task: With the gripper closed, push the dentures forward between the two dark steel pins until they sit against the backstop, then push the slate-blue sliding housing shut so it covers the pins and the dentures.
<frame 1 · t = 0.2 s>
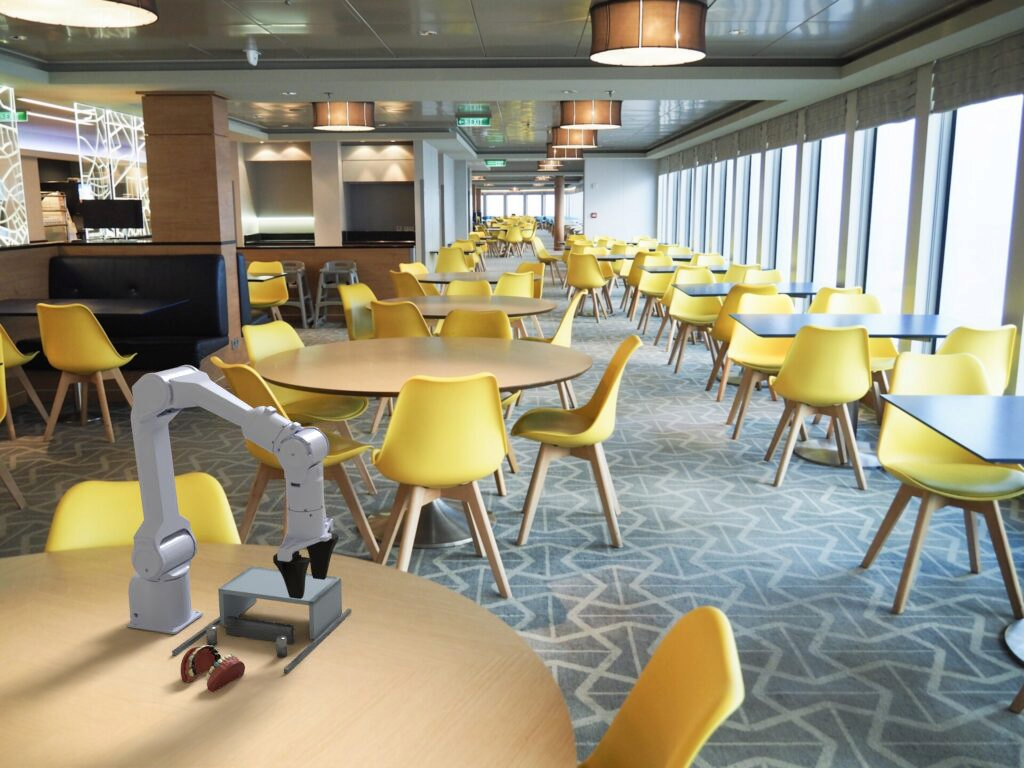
hand: (308, 587, 139), 10 cm above the table, fingers open, 7 cm apart
dentures: (213, 680, 131), on the table
housing: (281, 601, 149), point 3 cm above the table, slide at 0.0 cm
pin seat: (246, 649, 139), on the table
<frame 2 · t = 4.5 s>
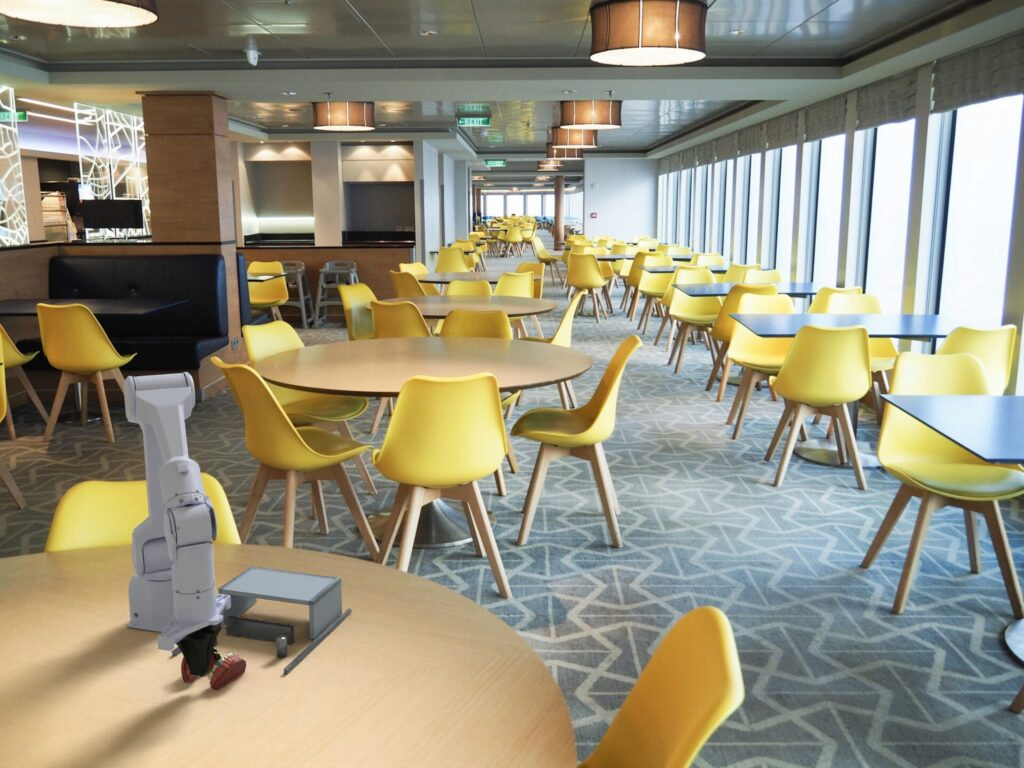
hand: (199, 673, 127), 2 cm above the table, fingers closed
dentures: (214, 679, 131), on the table, touching gripper
everything else where it was.
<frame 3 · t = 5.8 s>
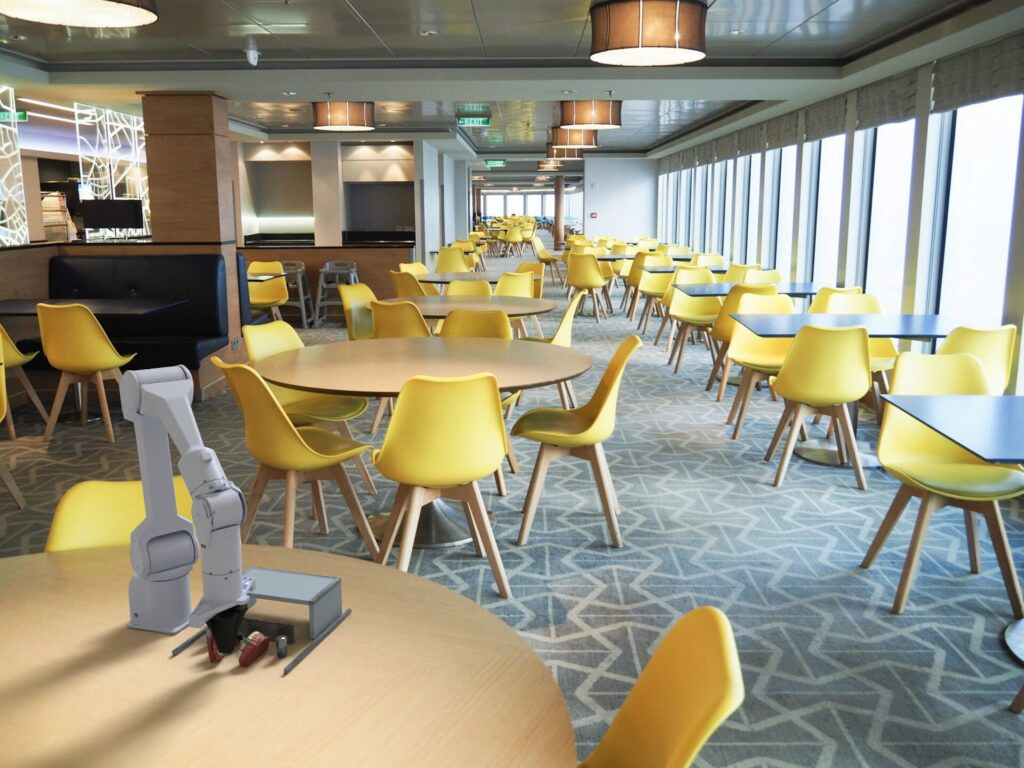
hand: (226, 651, 134), 2 cm above the table, fingers closed
dentures: (239, 657, 137), on the table, touching gripper
everything else where it was.
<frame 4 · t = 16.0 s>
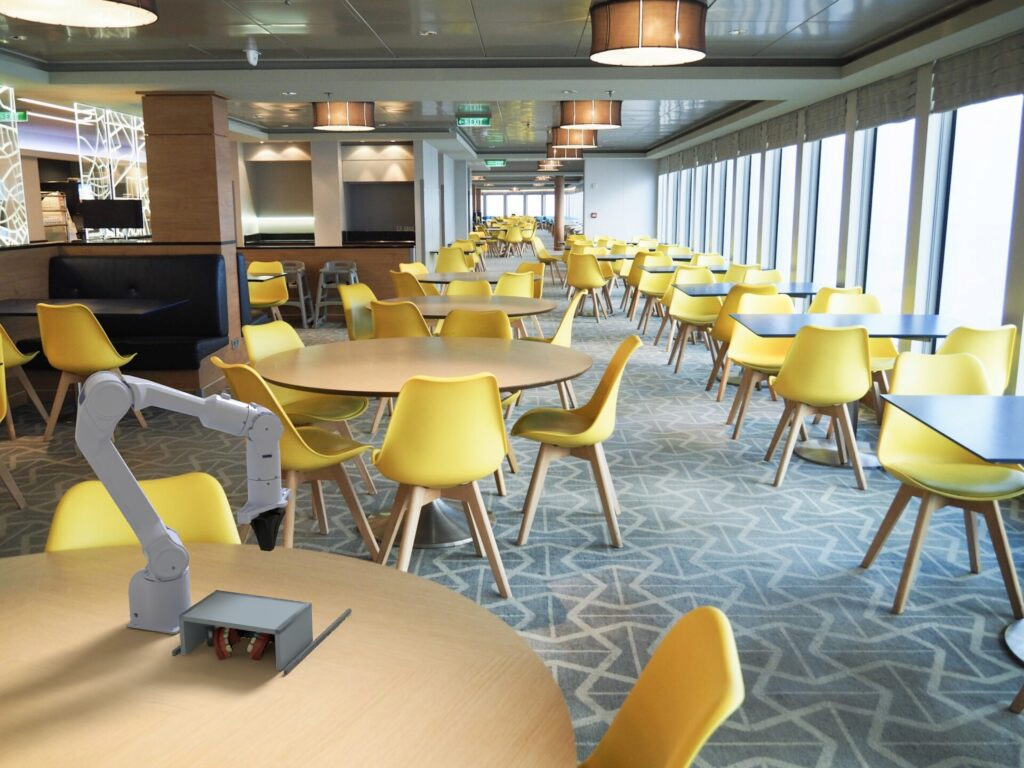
hand: (267, 549, 155), 10 cm above the table, fingers closed
dentures: (245, 652, 139), on the table
housing: (247, 628, 139), point 4 cm above the table, slide at 10.6 cm
at the end: dentures inside the target area (0.2 cm from its centre), on the table; housing slide at 10.6 cm; dentures tilted 0° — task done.
